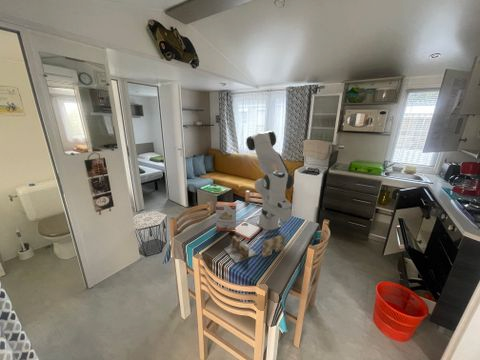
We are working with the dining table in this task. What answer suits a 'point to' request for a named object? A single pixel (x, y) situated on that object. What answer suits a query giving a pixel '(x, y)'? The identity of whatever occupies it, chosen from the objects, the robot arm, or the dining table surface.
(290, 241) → the dining table surface
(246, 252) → the jig
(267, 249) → the beige irregular flat piece
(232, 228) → the cracker box
